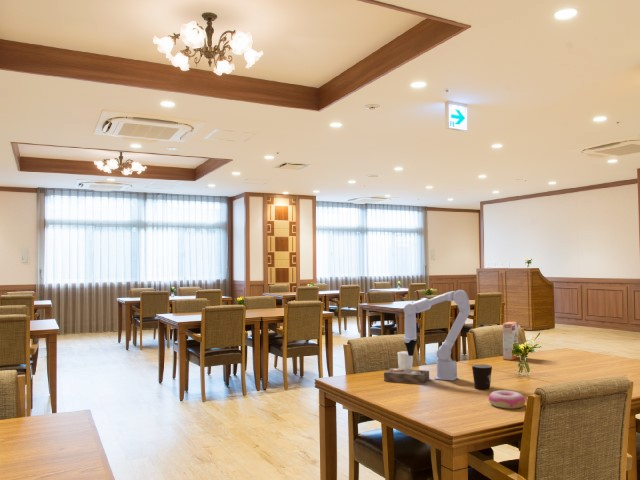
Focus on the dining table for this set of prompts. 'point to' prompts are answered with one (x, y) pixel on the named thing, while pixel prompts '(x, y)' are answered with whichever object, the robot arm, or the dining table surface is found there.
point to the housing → (407, 376)
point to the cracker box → (509, 339)
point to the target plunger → (397, 370)
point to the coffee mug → (482, 376)
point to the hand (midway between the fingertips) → (410, 355)
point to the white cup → (405, 360)
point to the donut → (507, 399)
